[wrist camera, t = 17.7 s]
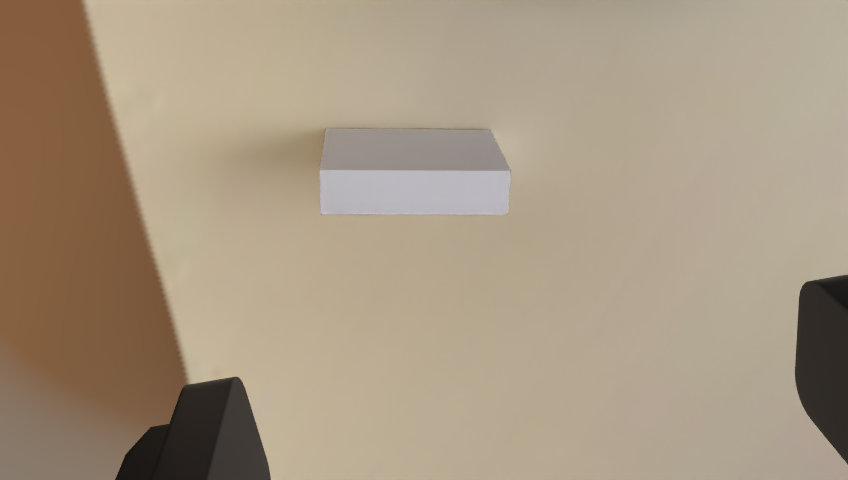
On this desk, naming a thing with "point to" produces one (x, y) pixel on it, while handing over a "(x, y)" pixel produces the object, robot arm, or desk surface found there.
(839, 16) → the desk surface
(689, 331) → the desk surface
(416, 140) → the eraser
